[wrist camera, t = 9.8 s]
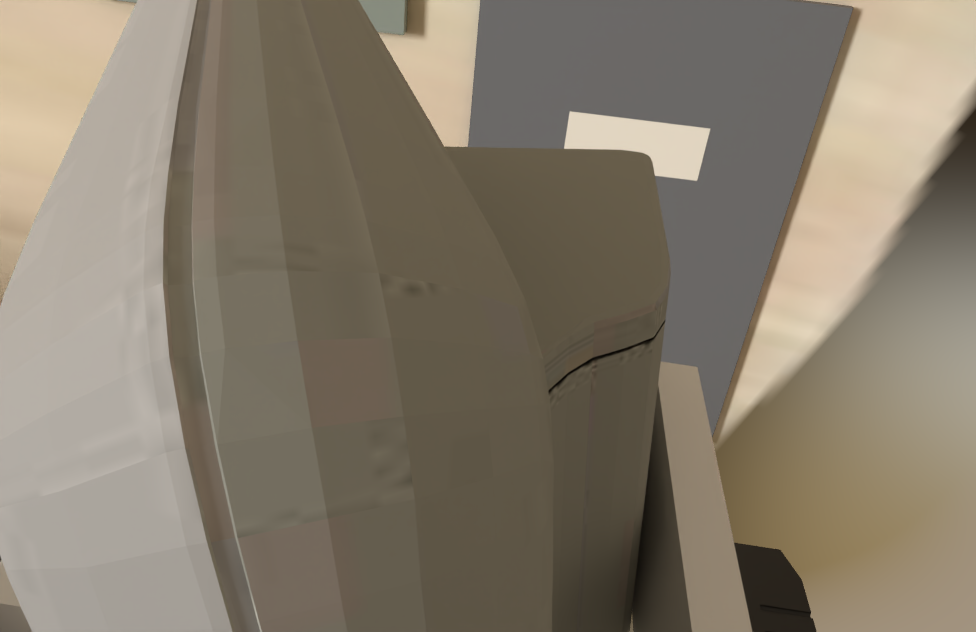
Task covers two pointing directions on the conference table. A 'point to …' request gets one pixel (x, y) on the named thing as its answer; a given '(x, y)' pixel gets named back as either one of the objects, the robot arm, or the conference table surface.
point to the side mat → (381, 14)
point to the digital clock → (322, 351)
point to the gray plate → (673, 130)
